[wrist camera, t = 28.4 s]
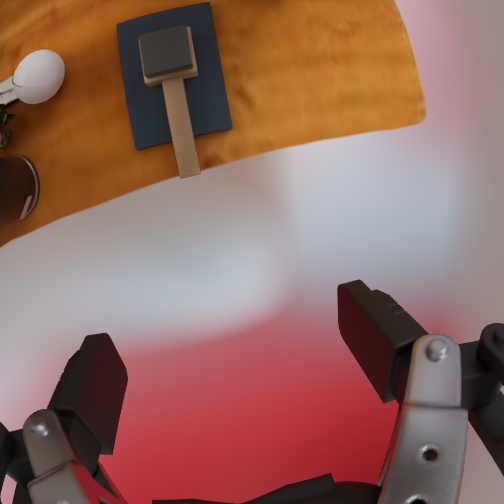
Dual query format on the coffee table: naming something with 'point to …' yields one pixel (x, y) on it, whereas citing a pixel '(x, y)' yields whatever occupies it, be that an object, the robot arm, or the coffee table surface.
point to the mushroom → (0, 122)
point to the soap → (7, 91)
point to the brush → (173, 86)
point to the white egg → (38, 76)
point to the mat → (197, 88)
